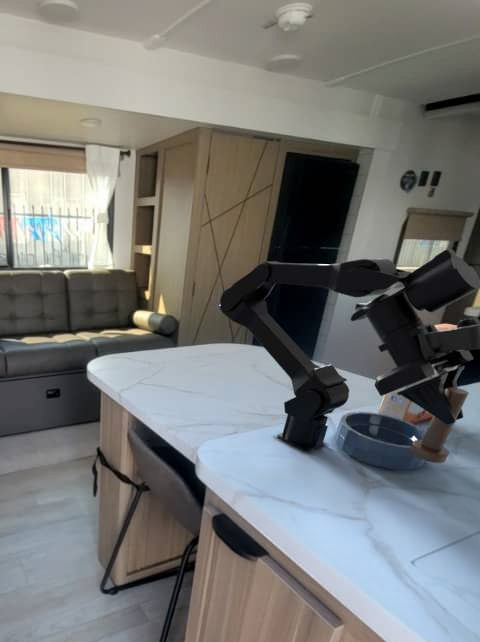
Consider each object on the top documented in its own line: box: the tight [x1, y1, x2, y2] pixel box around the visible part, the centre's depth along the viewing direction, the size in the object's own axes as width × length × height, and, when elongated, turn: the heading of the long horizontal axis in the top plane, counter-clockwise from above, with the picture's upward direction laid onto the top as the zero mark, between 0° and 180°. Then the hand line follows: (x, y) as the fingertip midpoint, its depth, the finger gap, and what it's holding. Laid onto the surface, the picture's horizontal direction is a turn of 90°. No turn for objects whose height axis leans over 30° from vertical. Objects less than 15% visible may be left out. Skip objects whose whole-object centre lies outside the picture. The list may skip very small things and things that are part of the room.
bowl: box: [334, 411, 427, 471], centre depth 77 cm, size 15×15×5 cm
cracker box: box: [377, 323, 459, 424], centre depth 88 cm, size 14×6×21 cm, turn 117°
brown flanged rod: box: [410, 387, 469, 464], centre depth 61 cm, size 5×5×11 cm
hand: (455, 421), depth 60 cm, fingers closed on brown flanged rod, 2 cm apart
